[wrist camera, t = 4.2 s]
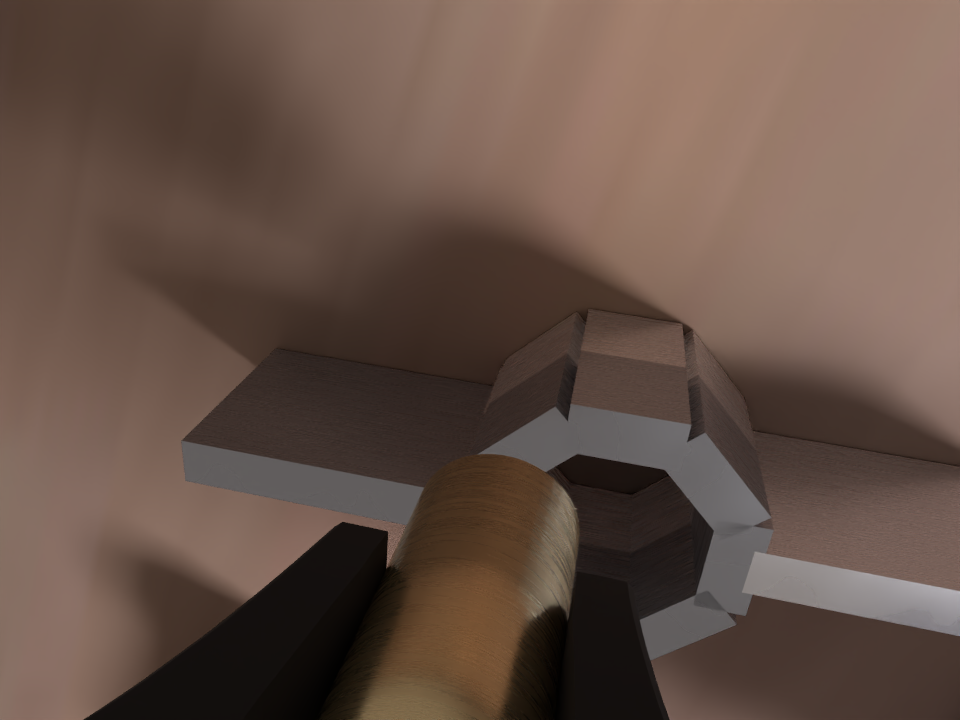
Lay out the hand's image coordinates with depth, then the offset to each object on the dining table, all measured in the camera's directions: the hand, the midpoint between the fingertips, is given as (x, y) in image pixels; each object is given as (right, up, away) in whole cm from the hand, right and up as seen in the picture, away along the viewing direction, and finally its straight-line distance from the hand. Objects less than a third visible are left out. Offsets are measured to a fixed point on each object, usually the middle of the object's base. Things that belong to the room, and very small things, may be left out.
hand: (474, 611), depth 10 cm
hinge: (+3, +2, +9) cm, 10 cm away
